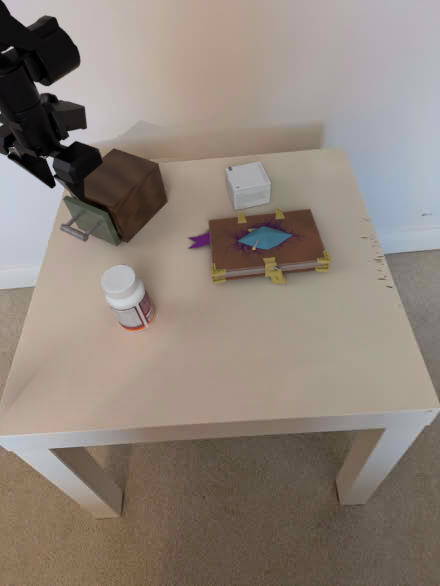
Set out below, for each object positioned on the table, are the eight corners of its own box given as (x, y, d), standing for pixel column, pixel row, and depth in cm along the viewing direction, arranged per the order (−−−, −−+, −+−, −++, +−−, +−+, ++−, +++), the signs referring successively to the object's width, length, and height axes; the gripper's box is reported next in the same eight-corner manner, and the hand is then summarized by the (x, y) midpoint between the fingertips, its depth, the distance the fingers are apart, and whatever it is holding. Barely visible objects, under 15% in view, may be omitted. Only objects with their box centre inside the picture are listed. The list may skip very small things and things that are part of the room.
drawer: (101, 262, 70) (85, 233, 63) (62, 243, 74) (44, 213, 67) (155, 206, 78) (146, 176, 71) (118, 192, 81) (106, 161, 75)
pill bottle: (143, 296, 66) (125, 254, 56) (162, 319, 63) (146, 279, 53) (113, 316, 64) (89, 276, 55) (131, 340, 61) (109, 302, 52)
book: (187, 233, 75) (183, 214, 71) (309, 219, 74) (312, 199, 71) (189, 297, 65) (185, 278, 61) (331, 281, 64) (335, 262, 60)
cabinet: (127, 243, 73) (112, 206, 66) (85, 224, 78) (66, 187, 70) (168, 201, 80) (158, 163, 72) (126, 185, 84) (113, 147, 76)
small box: (270, 203, 77) (271, 183, 73) (234, 211, 76) (232, 191, 72) (260, 180, 81) (260, 160, 77) (225, 187, 81) (224, 167, 77)
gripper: (110, 88, 51) (139, 181, 63) (20, 63, 57) (63, 152, 70) (50, 131, 46) (95, 222, 58) (-41, 99, 52) (17, 187, 65)
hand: (67, 192), depth 63 cm, fingers open, 7 cm apart
